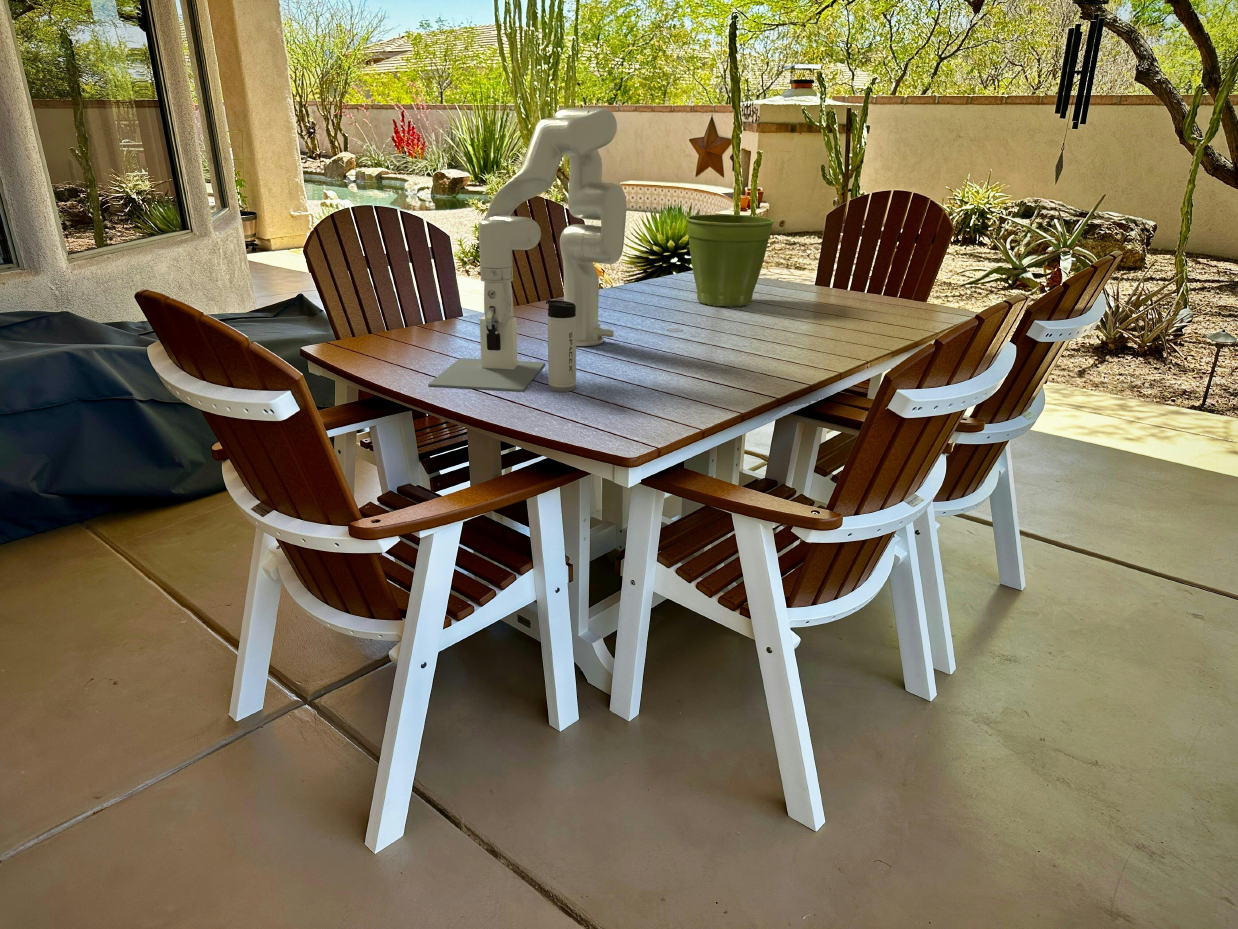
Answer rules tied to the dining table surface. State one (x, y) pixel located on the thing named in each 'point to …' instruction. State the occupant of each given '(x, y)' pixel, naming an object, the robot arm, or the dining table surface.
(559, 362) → the travel mug
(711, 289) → the plant pot
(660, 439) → the dining table surface
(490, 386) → the mat
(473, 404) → the dining table surface
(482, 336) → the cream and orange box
